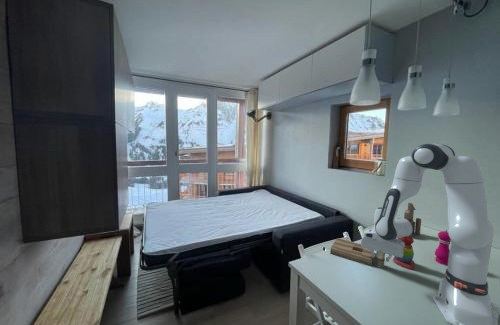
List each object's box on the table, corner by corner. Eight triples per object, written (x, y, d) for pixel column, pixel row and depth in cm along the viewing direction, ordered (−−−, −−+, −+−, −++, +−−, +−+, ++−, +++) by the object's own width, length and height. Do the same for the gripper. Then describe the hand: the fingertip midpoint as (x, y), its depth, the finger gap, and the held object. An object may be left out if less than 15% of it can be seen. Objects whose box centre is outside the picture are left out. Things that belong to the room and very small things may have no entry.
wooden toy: (409, 238, 152) (411, 205, 150) (399, 234, 158) (402, 203, 156) (420, 235, 158) (423, 203, 156) (411, 231, 164) (413, 201, 162)
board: (370, 265, 114) (371, 259, 114) (330, 253, 127) (330, 248, 126) (373, 252, 129) (373, 247, 128) (336, 242, 141) (337, 237, 141)
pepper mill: (454, 266, 115) (457, 232, 114) (439, 264, 117) (442, 231, 115) (444, 259, 122) (448, 227, 121) (431, 258, 124) (434, 226, 122)
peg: (383, 268, 112) (385, 250, 111) (375, 265, 114) (376, 248, 114) (384, 264, 115) (385, 247, 115) (375, 262, 118) (377, 245, 117)
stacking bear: (414, 271, 110) (416, 239, 109) (391, 263, 117) (393, 233, 115) (414, 262, 118) (417, 233, 117) (393, 256, 125) (395, 228, 124)
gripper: (404, 238, 110) (403, 263, 111) (362, 229, 122) (360, 251, 123) (405, 242, 105) (403, 268, 106) (361, 232, 117) (359, 255, 118)
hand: (380, 259), depth 115 cm, fingers open, 5 cm apart
